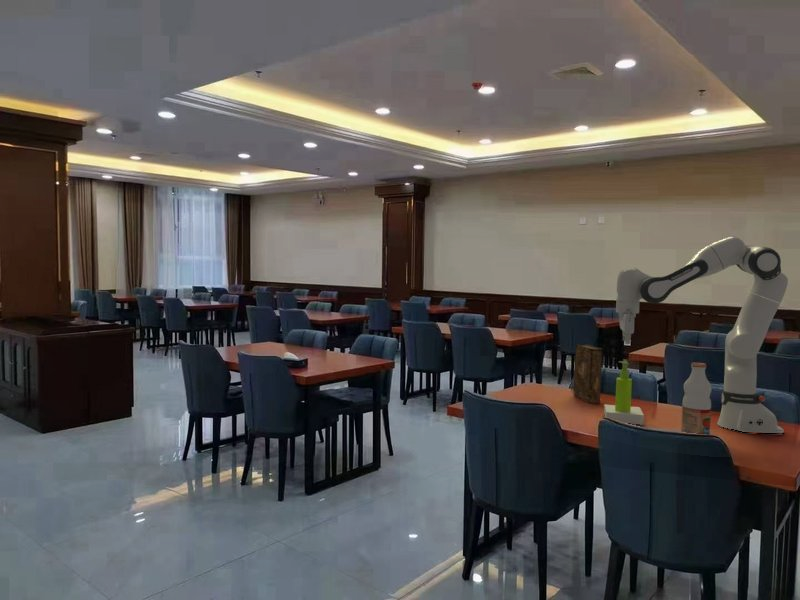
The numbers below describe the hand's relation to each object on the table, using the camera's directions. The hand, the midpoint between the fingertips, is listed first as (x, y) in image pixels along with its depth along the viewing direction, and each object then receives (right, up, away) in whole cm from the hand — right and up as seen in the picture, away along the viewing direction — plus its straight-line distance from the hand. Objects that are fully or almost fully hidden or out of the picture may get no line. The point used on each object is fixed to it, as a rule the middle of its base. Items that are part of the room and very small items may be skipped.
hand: (626, 342), depth 242 cm
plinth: (-1, -32, +2) cm, 32 cm away
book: (-4, -30, +37) cm, 48 cm away
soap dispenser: (-1, -28, +1) cm, 28 cm away
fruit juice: (+16, -34, -24) cm, 45 cm away
